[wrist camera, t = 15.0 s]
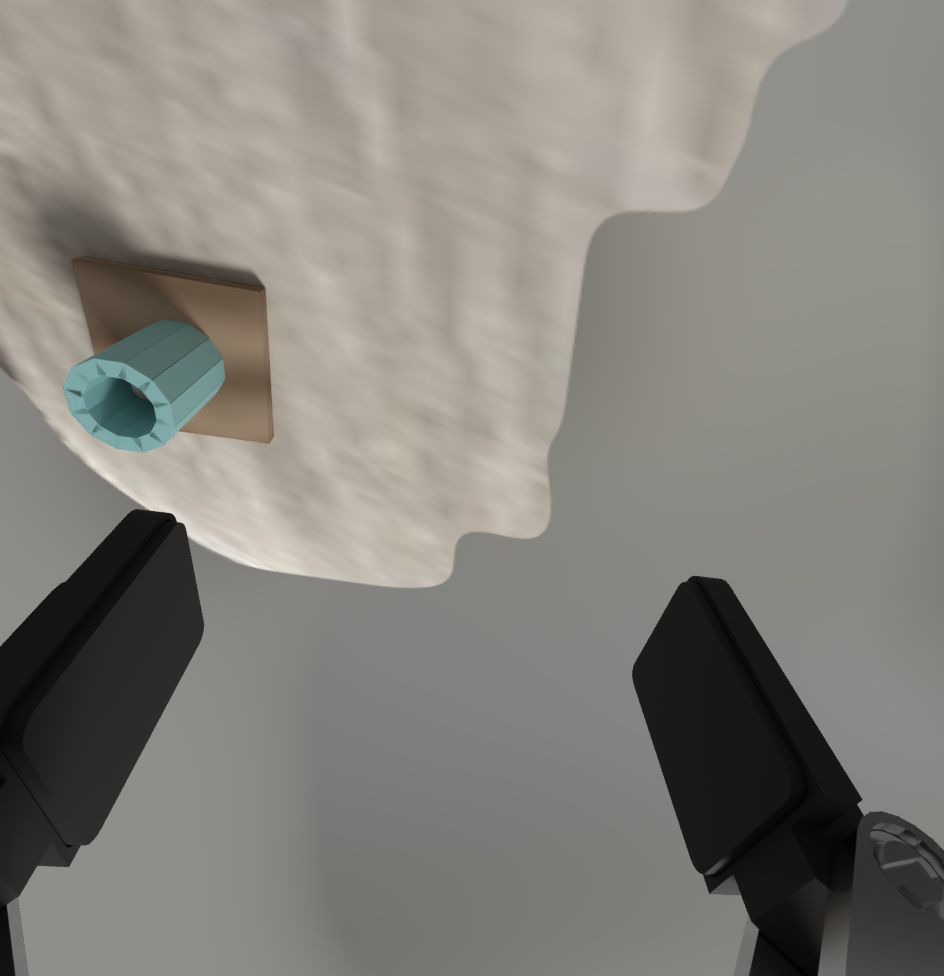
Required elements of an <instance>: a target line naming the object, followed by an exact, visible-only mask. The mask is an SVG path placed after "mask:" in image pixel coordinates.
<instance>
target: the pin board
mask: <svg viewBox="0 0 944 976" xmlns="http://www.w3.org/2000/svg"><path fill="white" fill-rule="evenodd" d="M71 261H72V265H73V269H74V273H75V277H76V280H77V284H78V288H79V292H80V296H81V300H82V304H83V308H84V312H85V315H86V319H87V323H88V327H89V331H90V335H91V339H92V343H93V347H94V351H95V354H97V353H99V352H101V351H103V350H105V349H106V348H108V347H110V346H112V345H114V344H115V343H117V342H119V341H121V340H123V339H124V338H126V337H128V336H130V335H132V334H133V333H135V332H137V331H139V330H141V329H142V328H144V327H146V326H149V325H151V324H153V323H156V322H158V321H160V320H163V319H165V320H172V321H178V322H184V323H187V324H190V325H191V326H193V327H194V328H196V329H197V330H199V331H200V332H202V333H203V334H205V335H206V336H208V337H209V338H210V339H211V341H212V342H213V344H214V345H215V347H216V348H217V350H218V351H219V353H220V354H221V356H222V357H223V362H224V371H225V380H224V382H223V383H222V385H221V387H220V388H219V390H218V392H217V393H216V394H215V395H214V396H213V397H212V398H211V399H210V400H209V401H208V402H207V403H206V404H205V405H204V406H203V407H202V408H201V409H200V410H199V411H198V412H197V413H196V414H195V415H194V416H193V417H192V418H191V419H190V420H189V421H188V422H187V423H186V424H185V425H184V426H183V427H182V428H181V429H180V430H179V431H181V432H188V433H195V434H203V435H210V436H217V437H224V438H232V439H239V440H246V441H254V442H261V443H268V444H269V443H270V442H271V440H272V439H273V437H274V433H273V415H272V397H271V380H270V362H269V344H268V326H267V308H266V291H265V288H262V287H256V286H251V285H245V284H239V283H233V282H227V281H221V280H216V279H210V278H204V277H198V276H192V275H186V274H181V273H175V272H169V271H163V270H157V269H152V268H146V267H140V266H134V265H128V264H122V263H117V262H111V261H105V260H99V259H93V258H87V257H80V258H76V259H73V260H71ZM131 387H132V390H133V392H134V393H135V394H136V395H137V396H138V397H139V398H141V399H143V400H147V401H150V400H149V399H148V398H147V396H146V395H145V394H144V392H143V391H142V390H141V389H139V388H138V387H136V386H134V385H133V384H131Z"/></svg>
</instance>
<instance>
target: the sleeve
mask: <svg viewBox="0 0 944 976" xmlns="http://www.w3.org/2000/svg"><path fill="white" fill-rule="evenodd" d="M224 380H225V371H224V362H223V357H222V356H221V354H220V353H219V351H218V350H217V348H216V347H215V345H214V344H213V342H212V341H211V339H210V338H209V337H208V336H206V335H205V334H203V333H202V332H200V331H199V330H197V329H196V328H194V327H193V326H191V325H190V324H187V323H184V322H178V321H172V320H165V319H163V320H160V321H158V322H156V323H153V324H151V325H149V326H146V327H144V328H142V329H141V330H139V331H137V332H135V333H133V334H132V335H130V336H128V337H126V338H124V339H123V340H121V341H119V342H117V343H115V344H114V345H112V346H110V347H108V348H106V349H105V350H103V351H101V352H99V353H97V354H96V355H94V356H92V357H90V358H88V359H86V360H85V361H83V362H81V363H79V364H77V365H76V366H74V367H72V368H71V370H70V372H69V375H68V377H67V380H66V382H65V384H64V387H63V390H64V393H65V396H66V400H67V403H68V406H69V410H70V412H71V414H72V415H73V416H74V417H75V418H76V419H77V420H78V422H79V423H80V424H81V425H82V426H83V427H84V428H85V429H86V430H87V432H88V433H89V434H91V435H92V436H94V437H96V438H97V439H99V440H101V441H103V442H105V443H107V444H109V445H111V446H112V447H114V448H116V449H121V450H128V451H136V452H147V451H149V450H152V449H155V448H158V447H160V446H163V445H165V444H166V443H167V442H168V441H169V440H170V439H171V438H172V437H173V436H174V435H175V434H176V433H177V432H178V431H179V430H180V429H181V428H182V427H183V426H184V425H185V424H186V423H187V422H188V421H189V420H190V419H191V418H192V417H193V416H194V415H195V414H196V413H197V412H198V411H199V410H200V409H201V408H202V407H203V406H204V405H205V404H206V403H207V402H208V401H209V400H210V399H211V398H212V397H213V396H214V395H215V394H216V393H217V392H218V390H219V388H220V387H221V385H222V383H223V382H224ZM131 384H133V385H134V386H136V387H138V388H139V389H141V390H142V391H143V392H144V394H145V395H146V396H147V398H148V399H149V400H150V401H147V400H143V399H141V398H139V397H138V396H137V395H136V394H135V393H134V392H133V390H132V387H131Z"/></svg>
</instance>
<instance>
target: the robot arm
mask: <svg viewBox="0 0 944 976" xmlns="http://www.w3.org/2000/svg"><path fill="white" fill-rule="evenodd" d="M203 631H204V621H203V616H202V610H201V605H200V600H199V595H198V590H197V584H196V579H195V574H194V569H193V564H192V558H191V553H190V548H189V542H188V537H187V532H186V528H185V525H184V524H183V523H179V522H177V521H176V518H175V516H174V515H173V514H171V513H165V512H156V511H148V510H139V509H136V510H133V511H131V512H130V513H129V514H127V516H126V517H125V518H124V519H123V520H122V521H121V522H120V523H119V524H118V526H116V528H115V529H114V530H113V531H112V532H111V533H110V534H109V535H108V536H107V537H106V538H105V540H104V541H103V542H102V543H101V544H100V545H99V546H98V547H97V548H96V549H95V550H94V552H93V553H92V554H91V555H90V556H89V557H88V558H87V559H86V561H84V562H83V564H82V565H81V566H80V567H79V568H78V569H77V570H76V571H75V572H74V573H73V574H72V575H71V576H70V578H69V579H68V580H67V581H66V582H63V583H61V584H60V585H59V586H57V587H56V588H55V589H54V590H53V591H52V592H51V593H50V594H49V595H48V596H47V597H46V598H45V599H44V600H43V601H42V602H41V603H40V604H39V606H38V607H37V608H36V609H35V610H34V611H33V612H32V613H31V614H30V615H29V616H28V617H27V618H26V620H25V621H24V622H23V623H22V624H21V625H20V626H19V627H18V628H17V629H16V630H15V631H14V632H13V633H12V635H11V636H10V637H9V638H8V639H7V640H6V641H5V642H4V643H3V644H2V646H0V976H29V974H28V966H27V959H26V952H25V945H24V937H23V931H22V923H21V916H20V909H19V901H18V897H19V895H20V894H21V892H22V891H23V889H24V887H25V885H26V884H27V882H28V880H29V878H30V877H31V875H32V874H33V872H34V870H35V868H36V867H37V866H56V867H69V866H70V864H71V862H72V860H73V859H74V857H75V855H76V853H77V851H78V849H79V848H80V846H81V845H88V844H90V843H91V842H92V841H93V840H94V838H95V837H96V836H97V835H98V833H99V831H100V830H101V828H102V826H103V824H104V822H105V820H106V818H107V817H108V815H109V813H110V811H111V809H112V807H113V805H114V804H115V802H116V799H117V798H118V796H119V794H120V792H121V790H122V788H123V786H124V785H125V783H126V781H127V779H128V777H129V775H130V773H131V771H132V770H133V768H134V766H135V764H136V762H137V760H138V758H139V756H140V755H141V753H142V751H143V749H144V747H145V745H146V743H147V741H148V739H149V738H150V736H151V734H152V732H153V730H154V728H155V726H156V724H157V722H158V721H159V719H160V717H161V715H162V713H163V711H164V709H165V707H166V706H167V704H168V702H169V700H170V698H171V696H172V694H173V692H174V691H175V689H176V687H177V685H178V683H179V681H180V679H181V677H182V675H183V674H184V672H185V670H186V668H187V666H188V664H189V662H190V660H191V659H192V657H193V655H194V653H195V651H196V649H197V647H198V645H199V643H200V641H201V638H202V635H203ZM632 678H633V683H634V686H635V690H636V693H637V696H638V699H639V702H640V705H641V708H642V711H643V714H644V717H645V720H646V723H647V726H648V730H649V732H650V736H651V739H652V742H653V745H654V748H655V751H656V754H657V757H658V760H659V763H660V766H661V769H662V773H663V776H664V778H665V782H666V784H667V788H668V791H669V794H670V797H671V800H672V803H673V806H674V809H675V812H676V815H677V818H678V821H679V825H680V828H681V831H682V834H683V837H684V840H685V843H686V846H687V849H688V852H689V855H690V858H691V861H692V863H693V865H694V867H695V868H696V870H697V871H698V872H699V873H701V874H703V876H704V879H705V882H706V885H707V888H708V891H709V894H725V895H740V894H741V896H742V899H743V901H744V904H745V907H746V909H747V912H748V916H747V921H746V925H745V929H744V933H743V938H742V942H741V946H740V950H739V954H738V958H737V963H736V967H735V971H734V975H733V976H944V850H943V849H942V848H941V847H940V846H939V845H938V844H937V843H936V842H935V841H934V840H933V839H932V838H931V837H929V836H928V835H927V834H925V833H924V832H923V831H921V830H920V829H919V828H917V827H916V826H915V825H913V824H911V823H910V822H908V821H906V820H904V819H902V818H900V817H899V816H896V815H892V814H889V813H886V812H883V811H880V812H869V813H868V814H866V815H865V816H864V815H863V814H862V812H861V810H860V809H859V807H858V805H857V804H858V803H859V802H860V801H862V798H861V796H860V795H859V793H858V792H857V790H856V788H855V787H854V785H853V783H852V782H851V780H850V779H849V777H848V775H847V774H846V772H845V771H844V769H843V767H842V766H841V764H840V763H839V761H838V759H837V758H836V756H835V755H834V753H833V751H832V750H831V748H830V747H829V745H828V743H827V742H826V740H825V738H824V737H823V735H822V734H821V732H820V730H819V729H818V727H817V726H816V724H815V722H814V721H813V719H812V718H811V716H810V714H809V713H808V711H807V709H806V708H805V706H804V705H803V703H802V701H801V700H800V698H799V697H798V695H797V693H796V692H795V690H794V689H793V687H792V685H791V684H790V682H789V681H788V679H787V677H786V676H785V674H784V672H783V671H782V669H781V668H780V666H779V664H778V663H777V661H776V660H775V658H774V656H773V655H772V653H771V651H770V650H769V648H768V647H767V645H766V643H765V642H764V640H763V639H762V637H761V635H760V634H759V632H758V631H757V629H756V627H755V626H754V624H753V622H752V621H751V619H750V618H749V616H748V614H747V613H746V611H745V610H744V608H743V606H742V605H741V603H740V602H739V600H738V599H737V597H736V595H735V594H734V592H733V590H732V589H731V587H730V586H729V584H728V583H727V582H726V581H725V580H723V579H717V578H709V577H700V576H692V577H691V578H689V579H688V581H687V582H683V583H681V584H680V585H679V586H678V588H677V590H676V592H675V594H674V595H673V597H672V599H671V600H670V602H669V604H668V606H667V608H666V609H665V611H664V613H663V614H662V616H661V618H660V620H659V621H658V623H657V625H656V627H655V628H654V630H653V632H652V634H651V636H650V637H649V639H648V641H647V643H646V644H645V646H644V648H643V650H642V651H641V653H640V655H639V657H638V658H637V660H636V662H635V664H634V666H633V671H632Z"/></svg>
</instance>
